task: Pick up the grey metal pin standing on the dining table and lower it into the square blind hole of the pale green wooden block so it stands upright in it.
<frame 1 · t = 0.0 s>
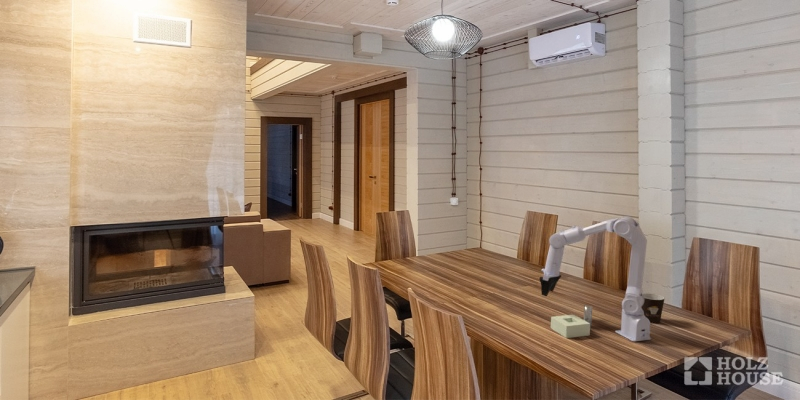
hand: (547, 292, 188), 11 cm above the table, tool pointing down, fingers open, 7 cm apart
coffee mug: (646, 320, 187), on the table
bore block: (569, 331, 175), on the table
pin: (587, 326, 180), on the table
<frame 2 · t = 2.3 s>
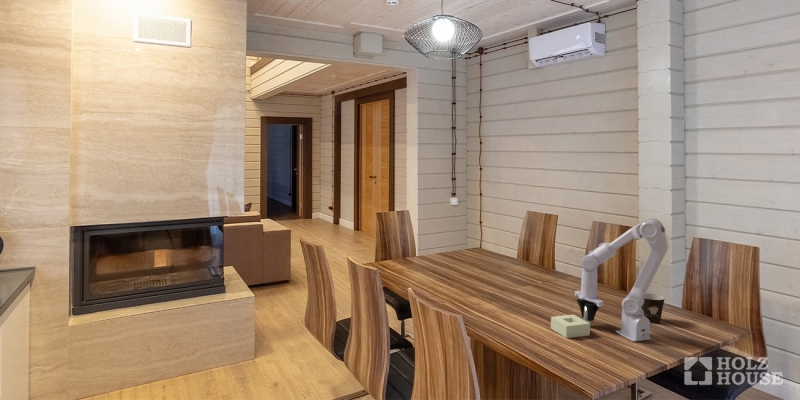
hand: (587, 319, 180), 3 cm above the table, tool pointing down, fingers closed on pin, 3 cm apart
pin: (587, 326, 180), on the table, touching gripper
everything else where it was.
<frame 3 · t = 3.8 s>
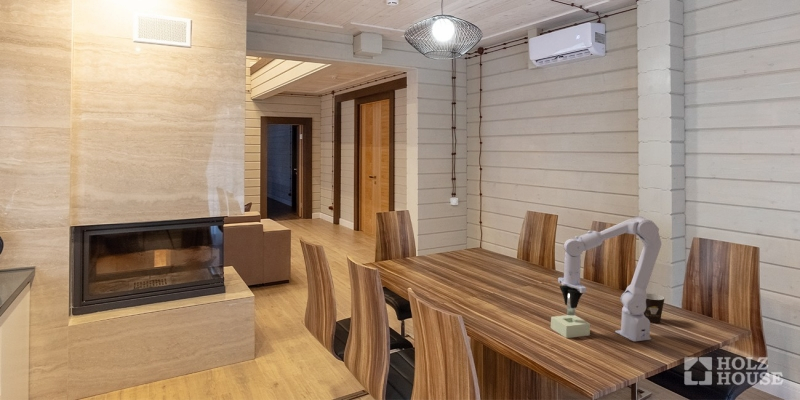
hand: (570, 306, 174), 10 cm above the table, tool pointing down, fingers closed on pin, 3 cm apart
pin: (570, 314, 174), point 7 cm above the table, touching gripper
everything else where it was.
when the fingers open (6 cm above the table, at t = 5.4 s): pin drops 1 cm, resting on bore block.
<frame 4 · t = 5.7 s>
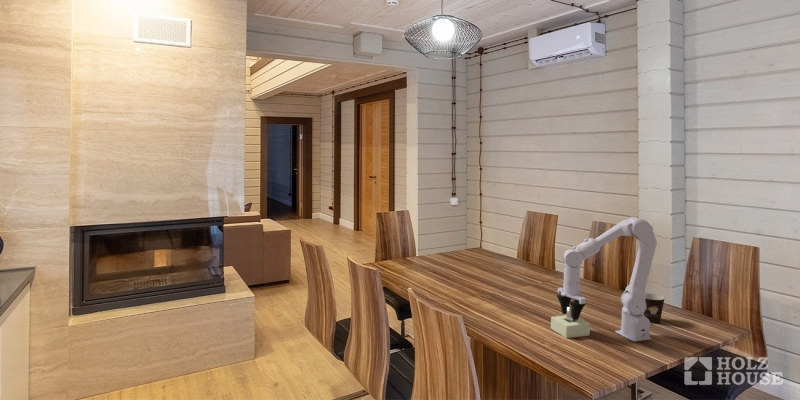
hand: (570, 316, 174), 6 cm above the table, tool pointing down, fingers open, 6 cm apart
pin: (570, 327, 175), point 2 cm above the table, touching bore block
everything else where it was.
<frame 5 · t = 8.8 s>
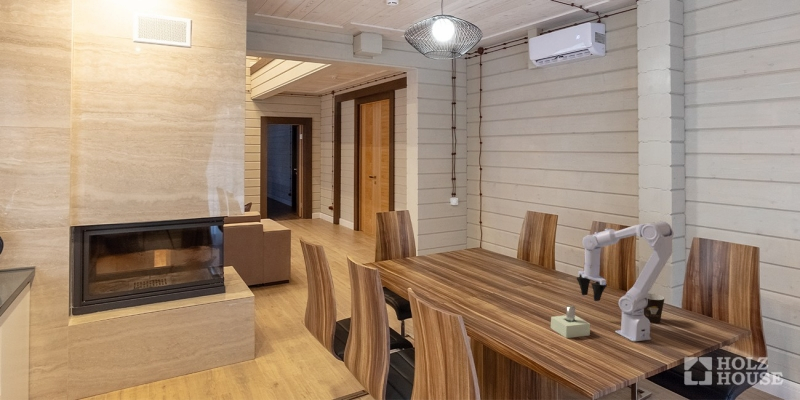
hand: (590, 297, 184), 10 cm above the table, tool pointing down, fingers open, 7 cm apart
nothing on the table moved.
at the end: pin 0.1 cm off-centre on the bore block, point 1.6 cm above the bore block's base; pin tilted 0°; the gripper is holding nothing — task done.
